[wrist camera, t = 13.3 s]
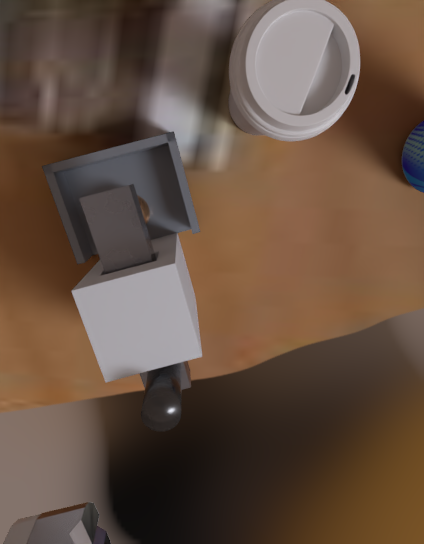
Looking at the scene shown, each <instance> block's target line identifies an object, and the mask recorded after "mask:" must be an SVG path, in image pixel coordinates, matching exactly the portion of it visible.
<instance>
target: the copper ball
mask: <svg viewBox="0 0 424 544" xmlns="http://www.w3.org/2000/svg"><path fill="white" fill-rule="evenodd" d="M137 197H138V200H139V203H140V207H141V210H142V213H143V216H144V220H145V223H146V224H147V223H148V221H149V217H150V210H149V206H148V204H147V203H146V201H145V200H144V199H143V198H142V197H140V196H138V195H137Z"/></svg>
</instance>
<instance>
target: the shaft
mask: <svg viewBox="0 0 424 544" xmlns="http://www.w3.org/2000/svg"><path fill="white" fill-rule="evenodd" d="M79 199H80V202H81V205H82V208H83V211H84V214H85V217H86V220H87V222H88V225H89V228H90V231H91V234H92V237H93V240H94V243H95V246H96V248H97V251H98V254H99V257H100V260H101V263H102V266H103V269H104V272H105V274H109V273H112V272H116V271H120V270H124V269H127V268H131V267H135V266H139V265H143V264H146V263H150V262H154V261H157V259H156V256H155V253H154V249H153V246H152V243H151V240H150V236H149V233H148V230H147V226H146V223H145V220H144V216H143V213H142V210H141V207H140V203H139V200H138V197H137V193H136V190H135V187H134V184H132V185H128V186H124V187H120V188H116V189H113V190H109V191H105V192H101V193H97V194H94V195H90V196H86V197H82V198H79ZM140 376H141V379H142V382H143V384H144V387H145V393H144V399H143V405H142V411H141V418H142V421H143V423H144V424H145V425H146V426H147V427H148V428H150V429H152V430H155V431H166V430H170V429H172V428H173V427H175V426H176V425H177V424H178V422H179V420H180V418H181V390H182V389H185V388H189V387H191V378H190V368H189V365H188V362H187V361H184V362H180V363H176V364H172V365H169V366H165V367H161V368H157V369H154V370H150V371H146V372H143V373H140Z"/></svg>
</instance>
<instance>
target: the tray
mask: <svg viewBox="0 0 424 544" xmlns="http://www.w3.org/2000/svg"><path fill="white" fill-rule="evenodd" d="M42 168H43V170H44V173H45V176H46V179H47V181H48V184H49V187H50V190H51V192H52V195H53V198H54V201H55V203H56V206H57V209H58V212H59V214H60V217H61V220H62V223H63V225H64V228H65V231H66V234H67V236H68V239H69V242H70V245H71V247H72V250H73V253H74V256H75V258H76V261H77V264H81V263H85V262H86V261H87V260H88V259H89V258H90V257H91V256H92V255H96V254H98V251H97V248H96V246H95V243H94V240H93V237H92V234H91V231H90V228H89V225H88V222H87V220H86V217H85V214H84V211H83V208H82V205H81V202H80V199H79V198H82V197H86V196H90V195H94V194H97V193H101V192H105V191H109V190H113V189H116V188H120V187H124V186H128V185H132V184H134V187H135V190H136V193H137V195H138V196H140V197H142V198H143V199H144V200H145V201H146V203H147V204H148V206H149V210H150V217H149V221H148V223H147V224H146V226H147V230H148V233H149V236H150V240H152V239H156V238H160V237H163V236H167V235H171V234H175V233H179V232H182V231H186V230H190V229H192V233H193V234H194V233H198V232H200V229H199V225H198V221H197V218H196V214H195V210H194V206H193V202H192V199H191V195H190V191H189V187H188V184H187V180H186V176H185V172H184V168H183V165H182V161H181V157H180V153H179V149H178V146H177V142H176V138H175V134H174V132H170V133H166V134H163V135H159V136H155V137H151V138H147V139H144V140H140V141H136V142H132V143H128V144H124V145H121V146H117V147H113V148H109V149H105V150H102V151H98V152H94V153H90V154H86V155H83V156H79V157H75V158H71V159H67V160H63V161H60V162H56V163H52V164H48V165H44V166H42Z"/></svg>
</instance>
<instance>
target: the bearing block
mask: <svg viewBox="0 0 424 544" xmlns="http://www.w3.org/2000/svg"><path fill="white" fill-rule="evenodd" d="M151 243H152V246H153V249H154V253H155V256H156V259H157V261H154V262H150V263H146V264H143V265H139V266H135V267H131V268H127V269H124V270H120V271H116V272H112V273H109V274H105V272H104V269H103V266H102V263H101V260H99V261H98V262H97V263H96V264H95V266H94V267H93V268H92V269H91V270H90V271H89V272H88V273H87V274H86V275H85V276H84V278H83V279H82V280H81V281H80V282H79V283H78V284H77V285H76V286H75V287H74V288H73V290H72V294H73V297H74V299H75V302H76V305H77V307H78V310H79V313H80V315H81V318H82V321H83V323H84V326H85V329H86V331H87V334H88V337H89V339H90V342H91V344H92V347H93V350H94V352H95V355H96V358H97V360H98V363H99V366H100V368H101V371H102V374H103V376H104V379H105V382H109V381H113V380H117V379H120V378H124V377H128V376H131V375H135V374H139V373H143V372H146V371H150V370H154V369H157V368H161V367H165V366H169V365H172V364H176V363H180V362H184V361H187V360H191V359H195V358H198V357H202V350H201V342H200V333H199V324H198V315H197V307H196V298H195V294H194V290H193V287H192V283H191V279H190V276H189V272H188V269H187V265H186V262H185V258H184V255H183V251H182V247H181V244H180V240H179V237H178V233H175V234H171V235H167V236H163V237H160V238H156V239H152V240H151Z"/></svg>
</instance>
